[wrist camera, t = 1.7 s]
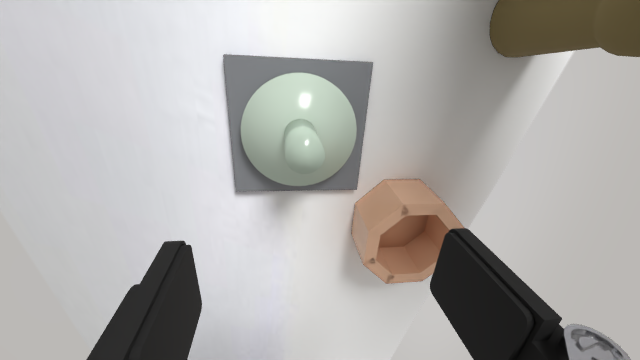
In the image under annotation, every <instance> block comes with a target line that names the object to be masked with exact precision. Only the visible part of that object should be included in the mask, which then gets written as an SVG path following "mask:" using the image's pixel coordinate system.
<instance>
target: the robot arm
mask: <svg viewBox="0 0 640 360" xmlns="http://www.w3.org/2000/svg"><path fill="white" fill-rule="evenodd" d="M430 289H431V292H432V294H433V296H434V297H435V299H436V301H437V302H438V304H439V305H440V307H441V309H442V310H443V312H444V313H445V315H446V316H447V318H448V320H449V321H450V323H451V324H452V326H453V328H454V329H455V331H456V332H457V334H458V336H459V337H460V339H461V340H462V342H463V343H464V345H465V347H466V348H467V349H468V351H469V353H470V355H471V356H472V358H473V359H474V360H631V359H630V357H629V356H628V354H627V353H626V352H625V351H624V350H623V349H622V348H621V347H620V346H619V345H618V344H617V343H615V342H614V341H613V340H612V339H610V338H609V337H607V336H605V335H604V334H602V333H600V332H598V331H596V330H594V329H592V328H590V327H587V326H583V325H579V324H570V325H567V326H566V327H565V328H564V329H563V328H562V327H561V326H560V325H559V323H560V321H561V320H562V318H561V317H560V316H559V315H558V314H557V313H556V312H555V311H554V310H552V308H550V306H548V305H547V304H546V303H545V302H544V301H543V300H542V299H541V298H540V297H539V296H538V295H537V294H536V293H535V292H534V291H533V290H532V289H530V288H529V287H528V286H527V285H526V284H525V283H524V282H523V281H522V280H521V279H520V278H519V277H518V276H517V275H516V274H515V273H514V272H513V271H512V270H511V269H510V268H508V267H507V266H506V265H505V264H504V263H503V262H502V261H501V260H500V259H499V258H498V257H497V256H496V255H495V254H494V253H493V252H492V251H490V249H488V248H487V247H486V246H485V245H484V244H483V243H482V242H481V241H480V240H479V239H478V238H477V237H476V236H475V235H474V234H473V233H471V231H470V230H468V229H466V228H461V229H450V230H449V232H448V233H446V234H445V236H444V240H443V243H442V246H441V249H440V253H439V256H438V259H437V263H436V266H435V269H434V273H433V276H432V279H431V282H430ZM201 308H202V301H201V295H200V290H199V285H198V279H197V274H196V269H195V263H194V258H193V253H192V248H191V245H186V243H185V242H184V241H168V242H164V244H163V245H162V247H161V248H160V250H159V252H158V254H157V255H156V257H155V259H154V260H153V262H152V264H151V266H150V267H149V269H148V271H147V272H146V274H145V276H144V278H143V279H142V281H141V283H140V284H137V285H134V286H132V287H131V288H130V290H129V291H128V293H127V294H126V296H125V298H124V299H123V301H122V302H121V304H120V306H119V307H118V309H117V311H116V312H115V314H114V316H113V317H112V319H111V321H110V322H109V324H108V325H107V327H106V329H105V330H104V332H103V334H102V335H101V337H100V339H99V340H98V342H97V343H96V345H95V347H94V348H93V350H92V352H91V353H90V355H89V357H88V358H87V360H187V358H188V355H189V351H190V348H191V344H192V341H193V337H194V334H195V330H196V327H197V324H198V320H199V317H200V313H201Z"/></svg>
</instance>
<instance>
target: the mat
mask: <svg viewBox="0 0 640 360" xmlns="http://www.w3.org/2000/svg"><path fill="white" fill-rule="evenodd" d="M223 57H224V68H225V79H226V90H227V101H228V111H229V122H230V133H231V144H232V154H233V165H234V176H235V187H236V191H295V190H357V184H358V176H359V169H360V161H361V153H362V145H363V137H364V129H365V121H366V114H367V106H368V98H369V90H370V82H371V74H372V67H373V62H359V61H340V60H321V59H302V58H283V57H264V56H245V55H225V54H224V55H223ZM292 72H304V73H310V74H314V75H317V76H320V77H322V78H324V79H326V80H328V81H329V82H331V83H332V84H334V85H335V86H336V87H337V88H339V89H340V91H341V92H342V93H343V94H344V95H345V96H346V98H347V99H348V101H349V102H350V104H351V106H352V109H353V111H354V114H355V119H356V126H357V132H356V140H355V144H354V147H353V150H352V152H351V155H350V156H349V158H348V160H347V161H346V163H345V164H344V165H343V166H342V167H341V168H340V169H339V170H338V171H337V172H336V173H335V174H333V175H332V176H331V177H329V178H327V179H326V180H323V181H321V182H319V183H315V184H312V185H307V186H290V185H285V184H281V183H278V182H276V181H273V180H271V179H269V178H268V177H266V176H265V175H263V174H262V173H261V172H259V171H258V170H257V169H256V168H255V167H254V165H253V164H252V163H251V161H250V160H249V158H248V157H247V155H246V152H245V150H244V147H243V144H242V139H241V121H242V116H243V113H244V110H245V108H246V105H247V103H248V101H249V100H250V98H251V97H252V95H253V94H254V93H255V92H256V90H257V89H258V88H259V87H260V86H262V85H263V84H264V83H266V82H267V81H268V80H270V79H272V78H274V77H276V76H279V75H282V74H286V73H292Z"/></svg>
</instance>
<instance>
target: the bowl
mask: <svg viewBox="0 0 640 360" xmlns="http://www.w3.org/2000/svg"><path fill="white" fill-rule="evenodd" d="M461 228H464V227H463V225H462V224H461V223H460V222H459V220H458V219H457V218H456V217H455V215H454V214H453V213H452V212H451V210H450V209H449V208H448V207H447V205H446V204H445V203H444V202H443V201H442V200H441V199H440V198H439V197H438V196H437V195H436V194H435V193H434V192H433V191H432V190H431V189H429V188H428V187H427V186H426V185H425V184H424V183H423V182H422V181H421V180H420V179H394V180H383V181H382V182H381V183H379V184H378V185H377V186H376V187H374V188H373V189H372V190H371V191H370V192H368V193H367V194H366V195H365V196H363V197H362V198H361V199H360V200H359V201H357V202H356V203H355V208H354V216H353V224H352V232H351V234H352V236H353V239H354V242H355V244H356V247H357V250H358V252H359V255H360V257H361V260H362V263H363V265H364V266H366V267H367V268H368V269H369V270H370V271H372V272H373V273H374V274H375V275H376V276H378V277H379V278H380V279H381V280H382V281H384V282H385V283H386V284H388V283H403V282H418V281H423V280H424V279H426V278H427V277H429V276H430V275H432V274H433V273H434V269H435V266H436V263H437V259H438V256H439V253H440V249H441V246H442V243H443V240H444V236H445V234H446V233H448V232H449V230H450V229H461Z"/></svg>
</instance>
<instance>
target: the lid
mask: <svg viewBox="0 0 640 360" xmlns="http://www.w3.org/2000/svg"><path fill="white" fill-rule="evenodd" d="M356 132H357V126H356V119H355V114H354V111H353V109H352V106H351V104H350V102H349V101H348V99H347V98H346V96H345V95H344V94H343V93H342V92H341V91H340V89H339V88H337V87H336V86H335V85H334V84H332V83H331V82H329V81H328V80H326V79H324V78H322V77H320V76H317V75H314V74H310V73H304V72H292V73H286V74H282V75H279V76H276V77H274V78H272V79H270V80H268V81H267V82H266V83H264V84H263V85H262V86H260V87H259V88H258V89H257V90H256V92H255V93H254V94H253V95H252V97H251V98H250V100H249V101H248V103H247V105H246V108H245V110H244V113H243V116H242V121H241V139H242V144H243V147H244V150H245V152H246V155H247V157H248V158H249V160H250V161H251V163H252V164H253V165H254V167H255V168H256V169H257V170H258V171H259V172H261V173H262V174H263V175H265V176H266V177H268V178H269V179H271V180H273V181H276V182H278V183H281V184H285V185H290V186H307V185H312V184H315V183H319V182H321V181H323V180H326V179H327V178H329V177H331V176H332V175H333V174H335V173H336V172H337V171H338V170H339V169H340V168H341V167H342V166H343V165H344V164H345V163H346V161H347V160H348V158H349V156H350V155H351V152H352V150H353V147H354V144H355V140H356Z"/></svg>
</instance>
